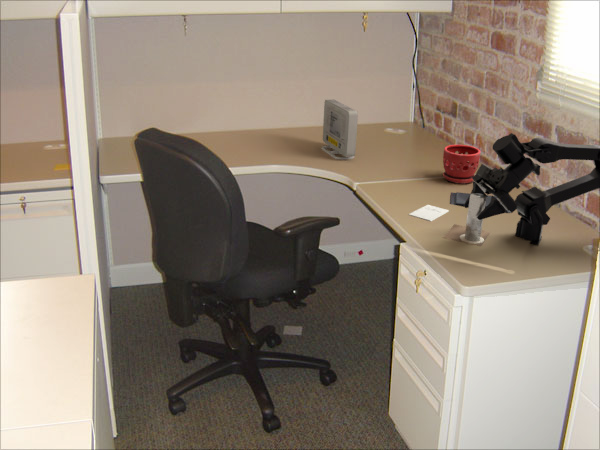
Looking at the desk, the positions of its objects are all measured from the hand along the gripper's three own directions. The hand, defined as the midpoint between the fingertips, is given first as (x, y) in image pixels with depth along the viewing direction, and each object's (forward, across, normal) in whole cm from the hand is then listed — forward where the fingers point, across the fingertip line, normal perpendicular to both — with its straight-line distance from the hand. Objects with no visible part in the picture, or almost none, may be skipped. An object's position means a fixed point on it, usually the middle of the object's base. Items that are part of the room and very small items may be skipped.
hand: (471, 212), depth 180 cm
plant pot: (-8, -55, +21) cm, 59 cm away
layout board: (+5, -3, +7) cm, 10 cm away
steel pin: (+5, 0, +7) cm, 8 cm away
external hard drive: (+10, -21, +4) cm, 24 cm away
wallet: (-6, -31, +20) cm, 37 cm away
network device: (+19, -93, -6) cm, 95 cm away
